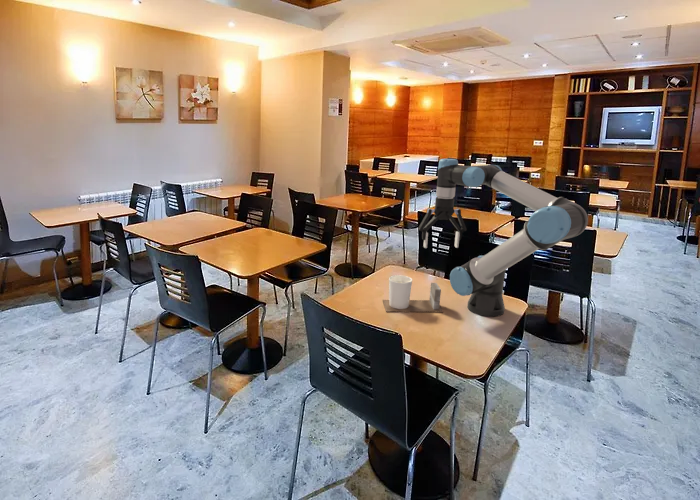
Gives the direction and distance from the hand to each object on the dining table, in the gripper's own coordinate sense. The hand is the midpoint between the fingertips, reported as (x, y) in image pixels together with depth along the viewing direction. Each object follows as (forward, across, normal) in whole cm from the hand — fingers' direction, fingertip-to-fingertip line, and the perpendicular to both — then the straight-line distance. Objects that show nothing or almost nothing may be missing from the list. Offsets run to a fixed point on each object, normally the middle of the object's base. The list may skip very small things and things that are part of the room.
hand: (440, 247), depth 187 cm
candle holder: (+25, +17, +2) cm, 31 cm away
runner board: (+26, +11, +3) cm, 28 cm away
